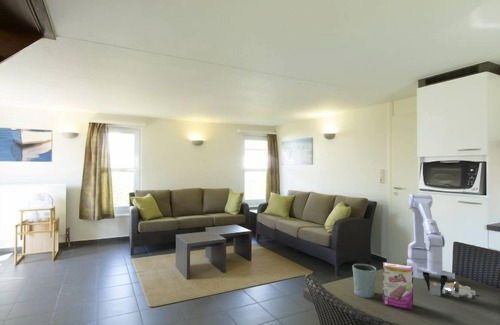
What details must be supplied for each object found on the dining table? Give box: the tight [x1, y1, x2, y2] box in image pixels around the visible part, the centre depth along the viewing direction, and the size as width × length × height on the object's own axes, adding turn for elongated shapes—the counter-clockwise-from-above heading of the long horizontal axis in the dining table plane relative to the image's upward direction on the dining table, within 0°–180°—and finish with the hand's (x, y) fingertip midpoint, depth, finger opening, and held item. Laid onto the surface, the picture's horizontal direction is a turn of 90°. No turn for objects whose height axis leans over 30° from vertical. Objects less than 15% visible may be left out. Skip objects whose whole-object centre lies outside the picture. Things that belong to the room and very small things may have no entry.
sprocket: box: [439, 280, 476, 299], centre depth 130 cm, size 14×14×6 cm
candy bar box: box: [382, 262, 414, 311], centre depth 119 cm, size 11×5×16 cm, turn 65°
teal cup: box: [352, 263, 377, 299], centre depth 130 cm, size 10×10×12 cm
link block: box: [429, 281, 442, 297], centre depth 128 cm, size 4×4×5 cm
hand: (435, 291), depth 128 cm, fingers closed on link block, 4 cm apart
